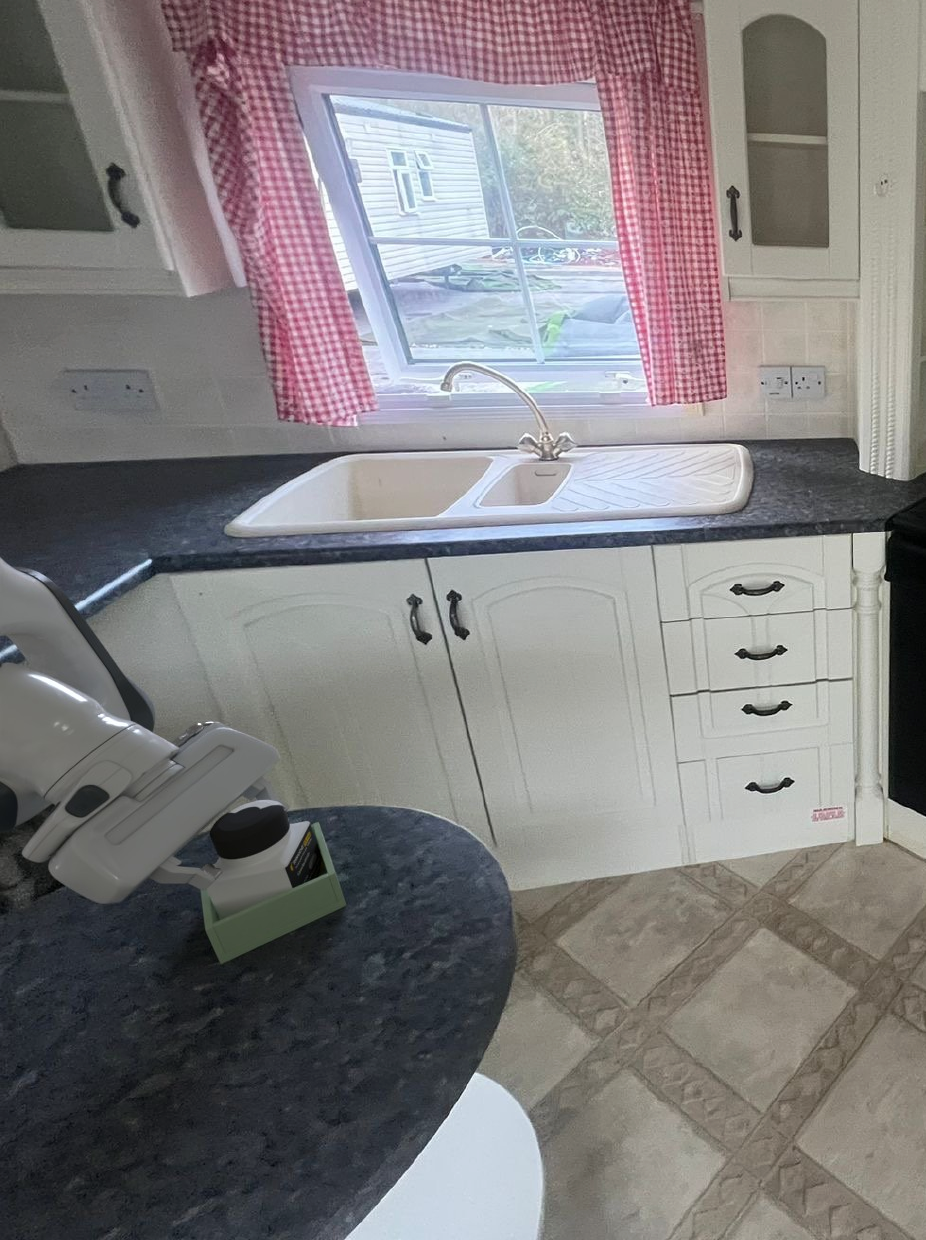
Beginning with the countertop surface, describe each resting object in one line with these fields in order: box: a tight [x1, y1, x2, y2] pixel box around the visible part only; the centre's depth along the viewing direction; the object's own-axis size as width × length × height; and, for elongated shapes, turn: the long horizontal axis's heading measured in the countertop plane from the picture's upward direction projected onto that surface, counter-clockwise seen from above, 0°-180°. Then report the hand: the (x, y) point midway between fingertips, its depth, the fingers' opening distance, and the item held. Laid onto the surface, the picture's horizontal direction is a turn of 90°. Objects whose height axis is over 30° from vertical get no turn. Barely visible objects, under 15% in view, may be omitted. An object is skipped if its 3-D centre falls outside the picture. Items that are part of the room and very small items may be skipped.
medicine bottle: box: [207, 800, 325, 920], centre depth 86 cm, size 7×7×12 cm
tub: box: [199, 821, 347, 965], centre depth 87 cm, size 11×11×5 cm
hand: (250, 846), depth 85 cm, fingers open, 8 cm apart
